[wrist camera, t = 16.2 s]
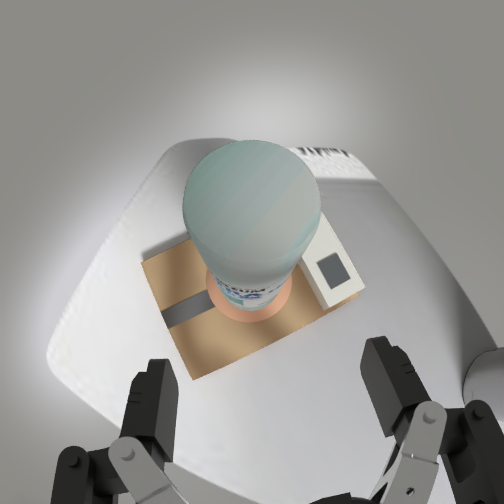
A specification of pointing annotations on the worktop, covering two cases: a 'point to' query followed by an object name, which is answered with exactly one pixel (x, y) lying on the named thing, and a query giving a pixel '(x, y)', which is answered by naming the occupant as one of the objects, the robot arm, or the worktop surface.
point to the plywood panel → (222, 311)
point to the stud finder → (329, 267)
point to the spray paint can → (251, 218)
